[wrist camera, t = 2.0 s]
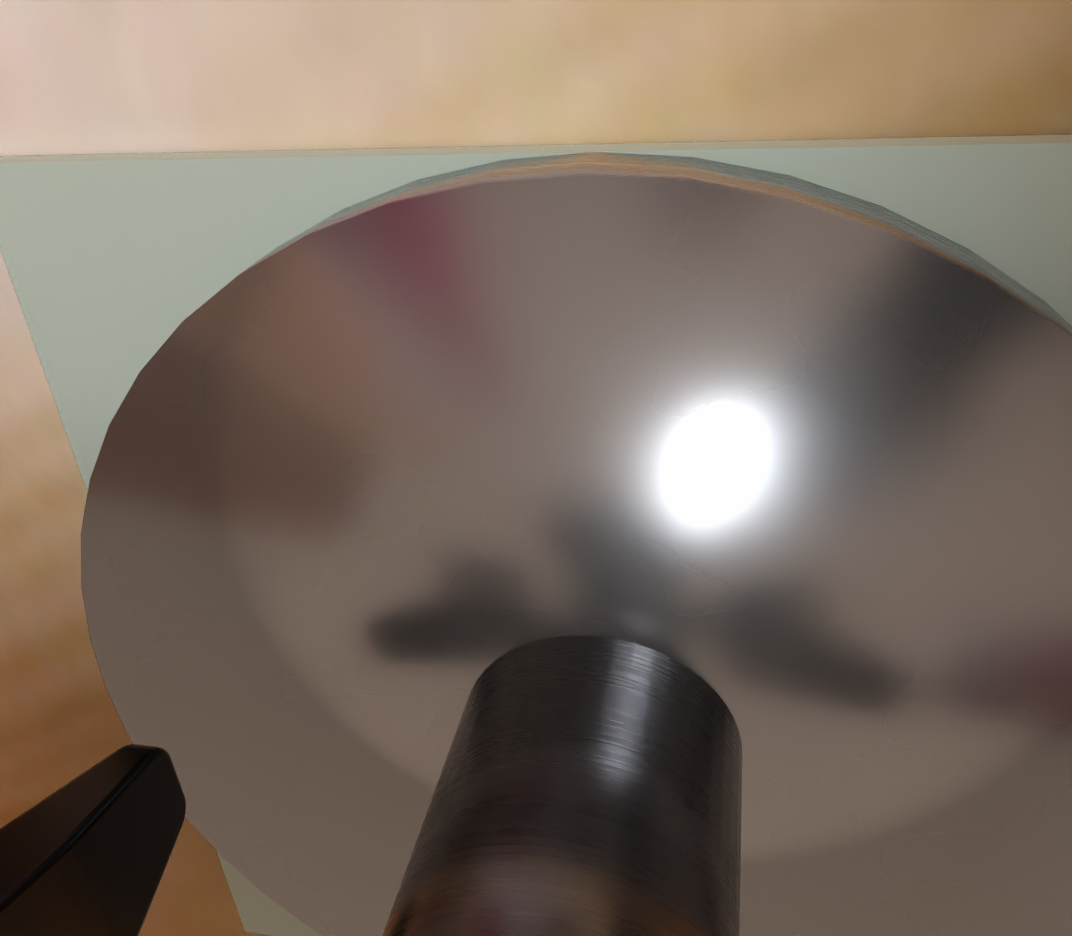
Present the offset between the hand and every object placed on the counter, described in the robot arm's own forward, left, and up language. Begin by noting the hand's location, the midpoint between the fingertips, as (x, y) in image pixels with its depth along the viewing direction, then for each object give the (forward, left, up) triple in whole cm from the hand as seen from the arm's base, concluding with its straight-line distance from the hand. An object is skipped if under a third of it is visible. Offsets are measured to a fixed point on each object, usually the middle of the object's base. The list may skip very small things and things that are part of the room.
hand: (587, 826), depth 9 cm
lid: (0, 0, -2) cm, 2 cm away
